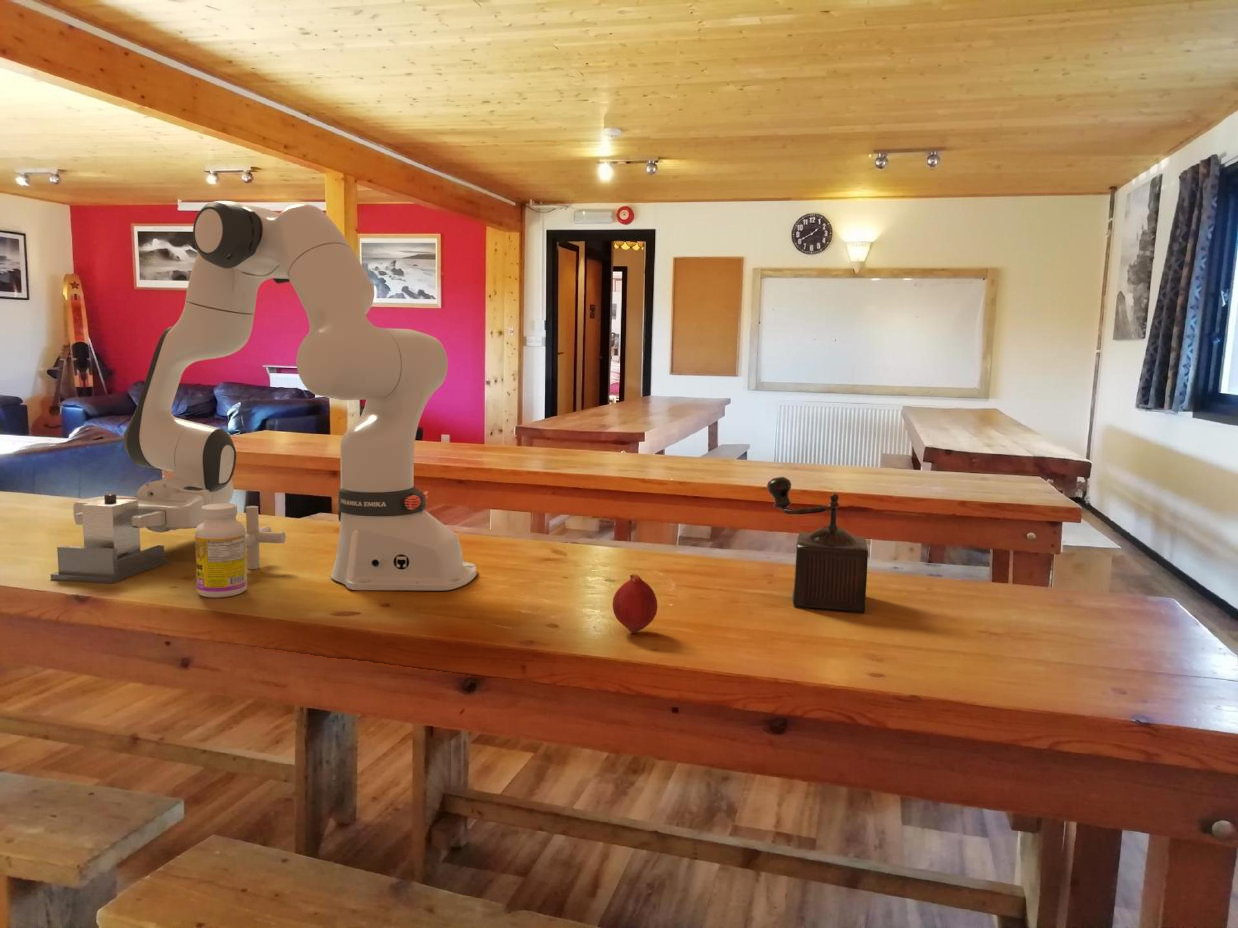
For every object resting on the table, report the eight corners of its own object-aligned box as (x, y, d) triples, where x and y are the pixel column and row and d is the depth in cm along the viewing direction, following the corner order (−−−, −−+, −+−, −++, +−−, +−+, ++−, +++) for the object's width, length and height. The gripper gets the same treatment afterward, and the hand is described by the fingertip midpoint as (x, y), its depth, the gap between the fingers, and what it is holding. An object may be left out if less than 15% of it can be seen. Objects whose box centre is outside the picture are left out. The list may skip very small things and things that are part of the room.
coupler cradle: (167, 562, 142) (166, 533, 141) (112, 583, 129) (110, 551, 129) (110, 558, 143) (109, 530, 142) (50, 579, 130) (49, 548, 130)
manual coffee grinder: (862, 594, 135) (870, 480, 133) (866, 614, 125) (874, 491, 122) (762, 585, 139) (767, 474, 136) (757, 604, 128) (763, 484, 126)
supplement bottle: (200, 587, 128) (197, 502, 127) (249, 585, 130) (246, 501, 129) (193, 600, 122) (190, 510, 120) (244, 597, 124) (241, 509, 122)
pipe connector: (271, 576, 135) (269, 513, 134) (208, 574, 135) (205, 511, 134) (296, 561, 145) (295, 502, 144) (237, 559, 145) (235, 500, 144)
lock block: (141, 561, 139) (137, 492, 138) (115, 570, 133) (111, 498, 132) (112, 559, 140) (108, 491, 138) (85, 568, 134) (81, 497, 132)
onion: (631, 622, 118) (632, 565, 117) (665, 632, 114) (667, 573, 113) (603, 632, 113) (604, 573, 112) (637, 643, 110) (639, 581, 109)
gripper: (106, 484, 149) (44, 498, 135) (218, 490, 147) (166, 504, 133) (108, 520, 150) (47, 537, 136) (219, 526, 148) (168, 544, 134)
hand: (107, 521), depth 135 cm, fingers open, 8 cm apart
